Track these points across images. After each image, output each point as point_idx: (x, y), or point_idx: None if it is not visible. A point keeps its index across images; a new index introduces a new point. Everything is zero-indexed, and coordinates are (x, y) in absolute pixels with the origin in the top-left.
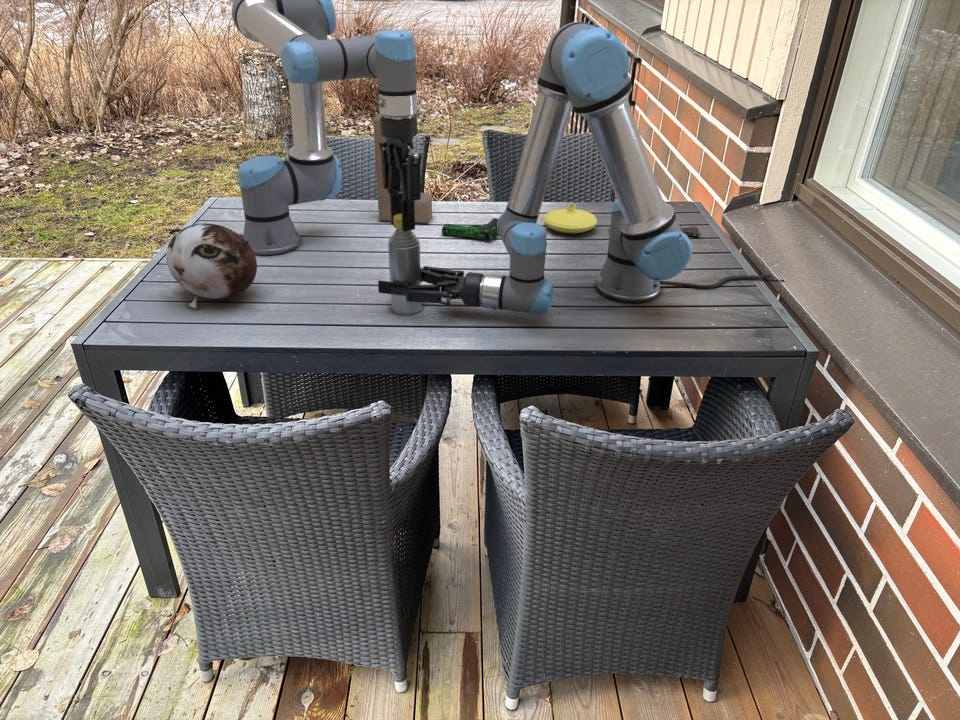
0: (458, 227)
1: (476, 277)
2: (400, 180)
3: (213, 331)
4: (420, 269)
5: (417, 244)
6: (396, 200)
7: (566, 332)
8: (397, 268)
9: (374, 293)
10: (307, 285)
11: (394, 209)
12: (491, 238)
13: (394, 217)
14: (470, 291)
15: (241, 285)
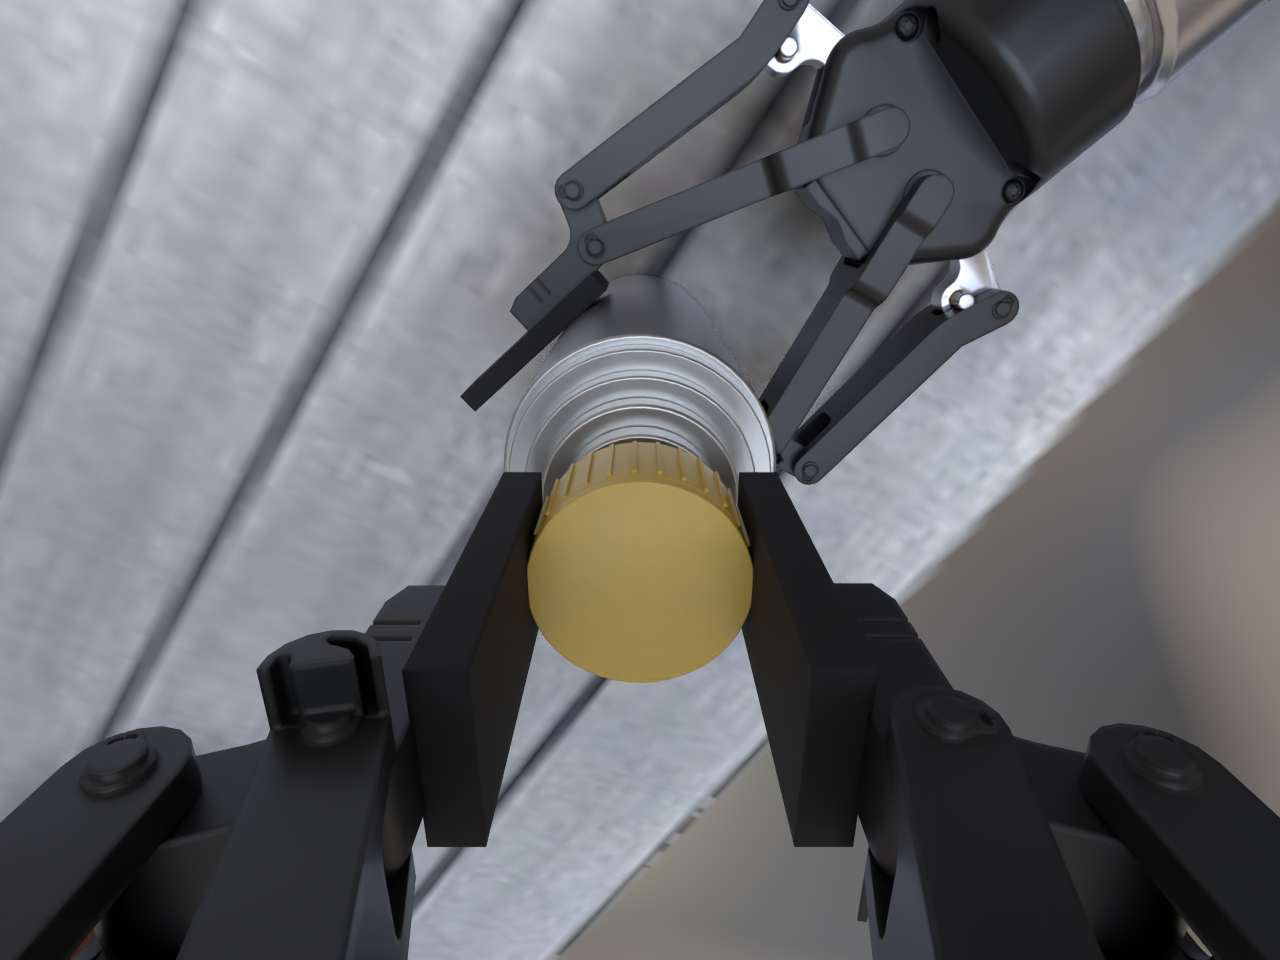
0: None
1: (1114, 59)
2: (348, 931)
3: (439, 949)
4: (703, 322)
5: (747, 399)
6: (497, 717)
7: None
8: None
9: (411, 403)
10: (191, 609)
11: (519, 668)
12: None
13: (617, 674)
14: (1081, 153)
15: None
